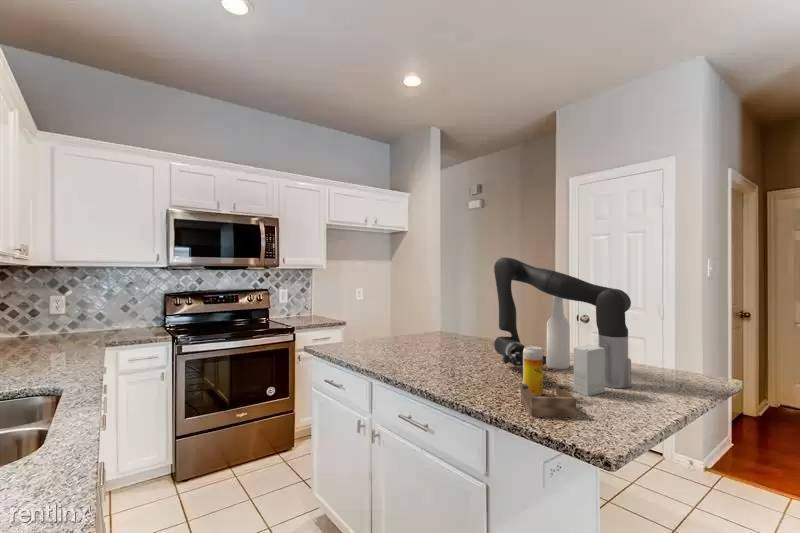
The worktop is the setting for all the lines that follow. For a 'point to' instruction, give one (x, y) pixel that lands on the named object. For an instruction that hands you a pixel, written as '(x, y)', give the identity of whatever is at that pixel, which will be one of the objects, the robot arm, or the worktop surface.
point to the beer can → (533, 369)
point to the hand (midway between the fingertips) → (529, 363)
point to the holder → (549, 403)
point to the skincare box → (589, 370)
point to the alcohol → (558, 337)
